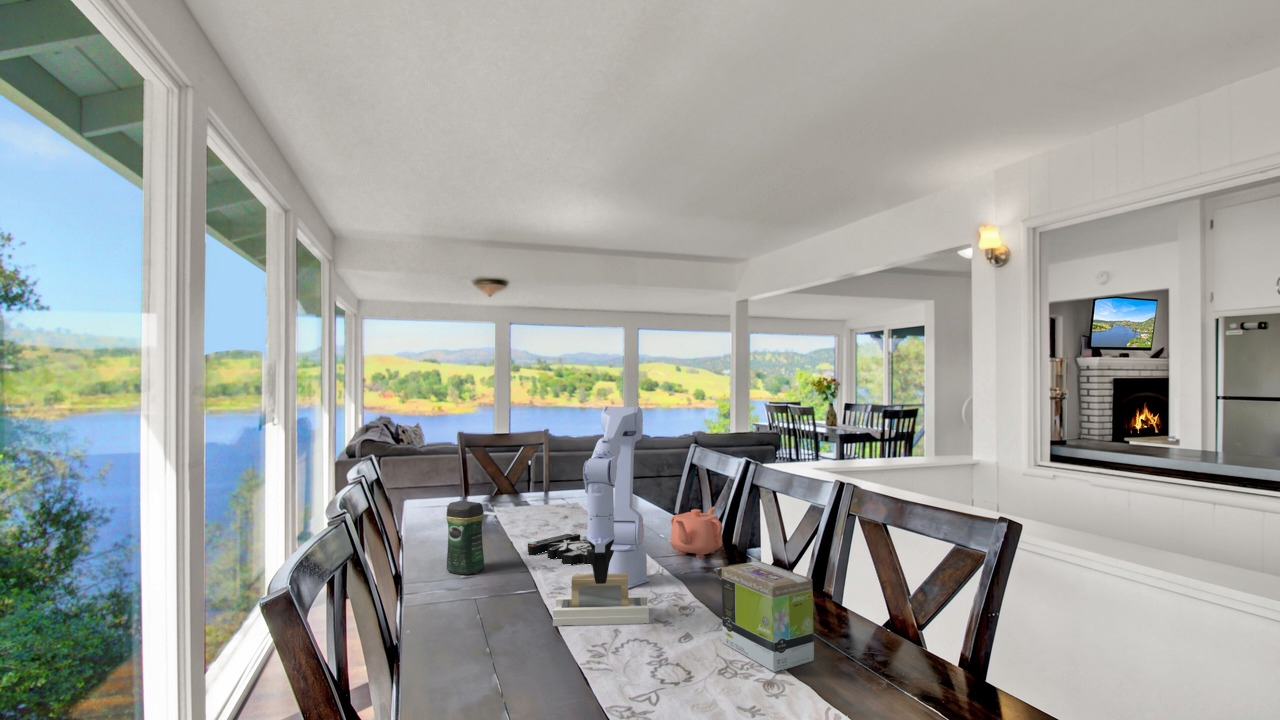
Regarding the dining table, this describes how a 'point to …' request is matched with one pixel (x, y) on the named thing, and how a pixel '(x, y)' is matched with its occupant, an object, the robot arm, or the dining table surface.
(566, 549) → the sign
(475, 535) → the coffee jar
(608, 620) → the cream rectangular frame
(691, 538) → the teapot
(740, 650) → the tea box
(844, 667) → the dining table surface
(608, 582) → the beige rectangular panel
